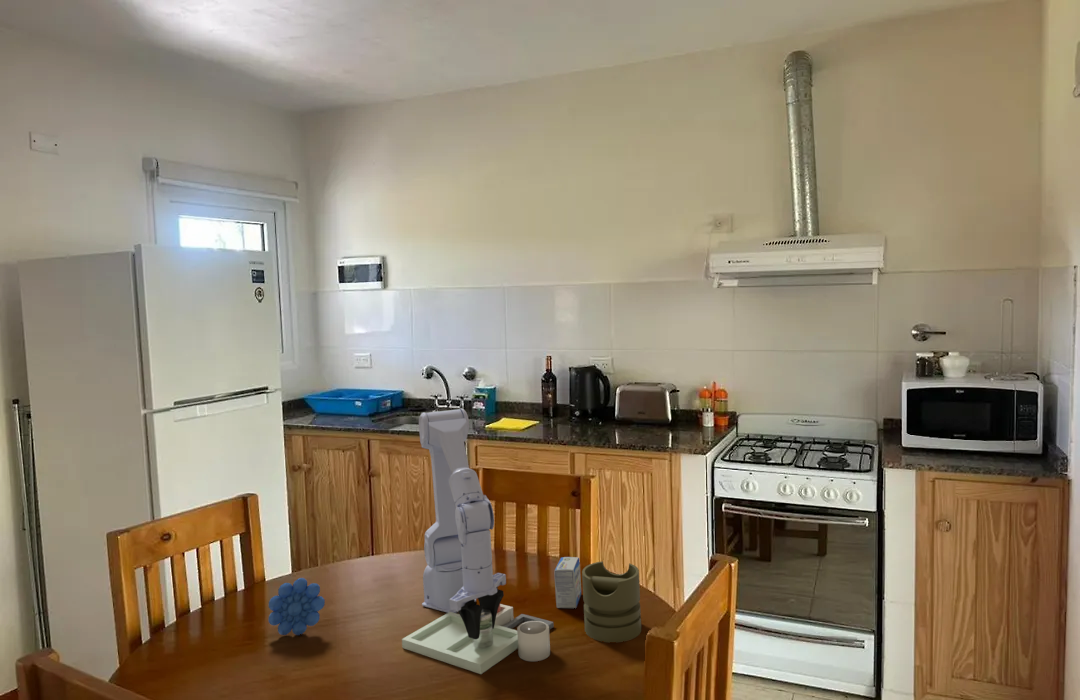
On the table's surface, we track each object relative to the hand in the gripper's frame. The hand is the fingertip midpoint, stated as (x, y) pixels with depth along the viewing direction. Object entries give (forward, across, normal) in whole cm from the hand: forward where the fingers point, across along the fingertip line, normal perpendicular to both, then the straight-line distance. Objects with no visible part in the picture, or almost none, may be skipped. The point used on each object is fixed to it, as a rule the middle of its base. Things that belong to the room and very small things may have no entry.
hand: (481, 632), depth 141 cm
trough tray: (+3, 0, +4) cm, 6 cm away
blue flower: (+4, -13, +38) cm, 41 cm away
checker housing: (+3, +10, +6) cm, 12 cm away
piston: (+4, +20, -18) cm, 27 cm away
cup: (+3, +4, -10) cm, 11 cm away
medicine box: (+4, +27, -2) cm, 27 cm away
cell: (+2, 0, 0) cm, 2 cm away
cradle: (+3, +11, -2) cm, 12 cm away
